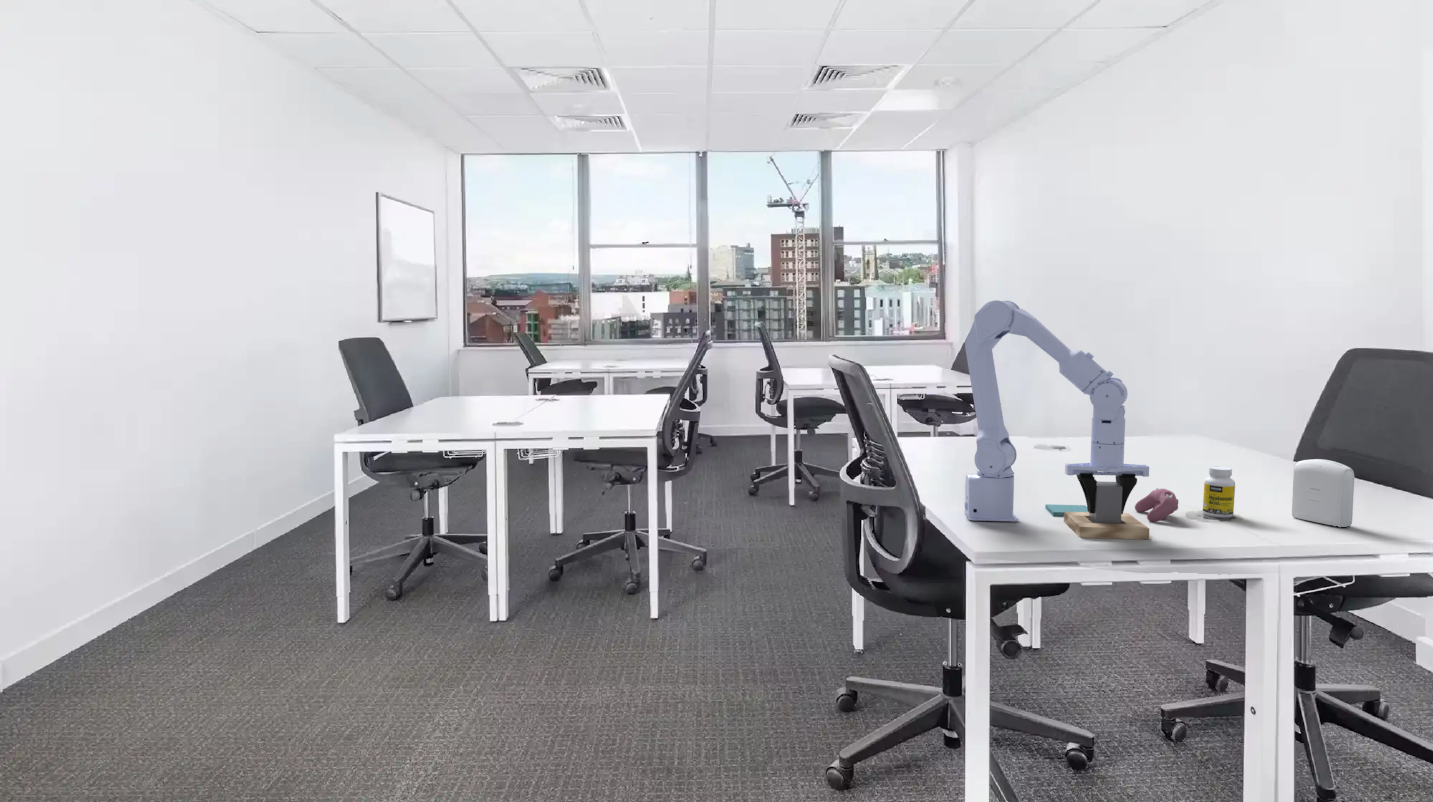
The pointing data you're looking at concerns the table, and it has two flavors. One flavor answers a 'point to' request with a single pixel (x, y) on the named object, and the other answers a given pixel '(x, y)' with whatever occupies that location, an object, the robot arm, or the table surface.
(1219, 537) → the table surface
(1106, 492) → the plug
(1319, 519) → the photo printer
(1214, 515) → the supplement bottle
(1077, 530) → the square wooden frame
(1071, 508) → the rubber mat
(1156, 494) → the video game controller
